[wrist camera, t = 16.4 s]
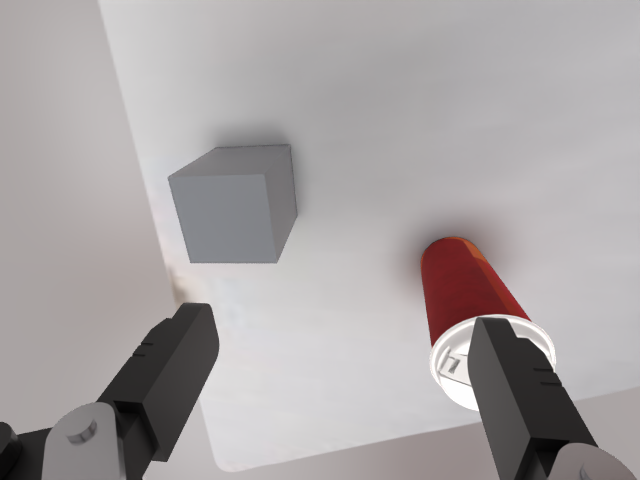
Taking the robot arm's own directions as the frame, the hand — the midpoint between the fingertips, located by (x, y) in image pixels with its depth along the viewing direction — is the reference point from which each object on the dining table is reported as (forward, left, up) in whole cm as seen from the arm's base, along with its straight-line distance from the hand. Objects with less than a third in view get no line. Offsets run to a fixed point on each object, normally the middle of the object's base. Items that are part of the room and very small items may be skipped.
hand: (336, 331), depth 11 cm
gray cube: (+8, -5, -23) cm, 24 cm away
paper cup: (+3, +14, -23) cm, 27 cm away
